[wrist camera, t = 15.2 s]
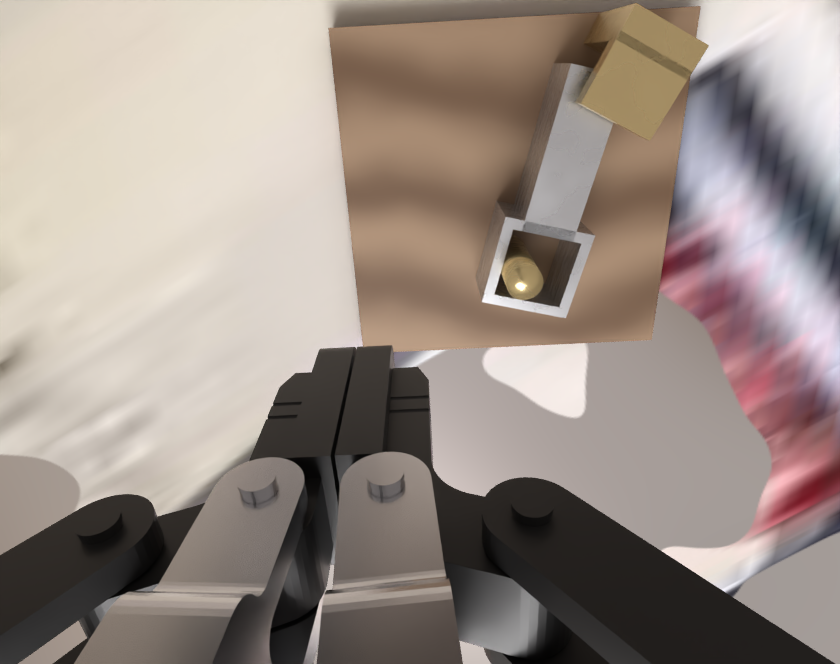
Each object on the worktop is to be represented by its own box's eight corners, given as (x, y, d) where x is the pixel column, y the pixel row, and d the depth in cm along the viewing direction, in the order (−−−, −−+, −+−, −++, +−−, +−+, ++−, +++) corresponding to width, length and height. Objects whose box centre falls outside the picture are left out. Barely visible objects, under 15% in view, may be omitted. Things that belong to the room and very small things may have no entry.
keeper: (613, 128, 32) (649, 140, 27) (554, 97, 31) (580, 103, 26) (660, 48, 30) (708, 45, 25) (599, 13, 30) (636, 2, 25)
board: (331, 29, 31) (328, 28, 30) (690, 8, 31) (700, 6, 30) (365, 345, 40) (363, 353, 39) (645, 332, 39) (651, 339, 38)
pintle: (493, 235, 35) (506, 266, 30) (524, 233, 35) (544, 264, 30) (493, 265, 36) (506, 300, 30) (524, 263, 36) (542, 299, 30)
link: (534, 59, 31) (549, 58, 27) (623, 80, 31) (649, 82, 28) (475, 278, 36) (481, 302, 33) (551, 293, 37) (565, 318, 33)
